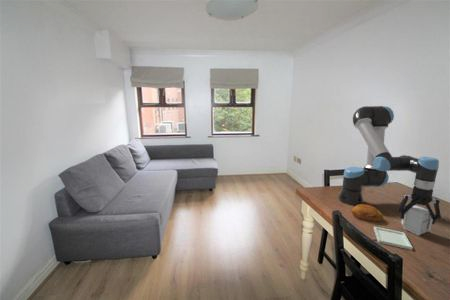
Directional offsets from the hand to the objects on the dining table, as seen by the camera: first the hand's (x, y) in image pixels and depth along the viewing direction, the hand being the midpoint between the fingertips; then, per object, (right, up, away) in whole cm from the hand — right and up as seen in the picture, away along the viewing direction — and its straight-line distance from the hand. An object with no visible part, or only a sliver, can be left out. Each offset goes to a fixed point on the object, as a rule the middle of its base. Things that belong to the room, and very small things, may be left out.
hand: (415, 226), depth 115 cm
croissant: (-16, +1, +16) cm, 22 cm away
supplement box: (0, -2, 0) cm, 3 cm away
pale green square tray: (-18, -4, -6) cm, 19 cm away
